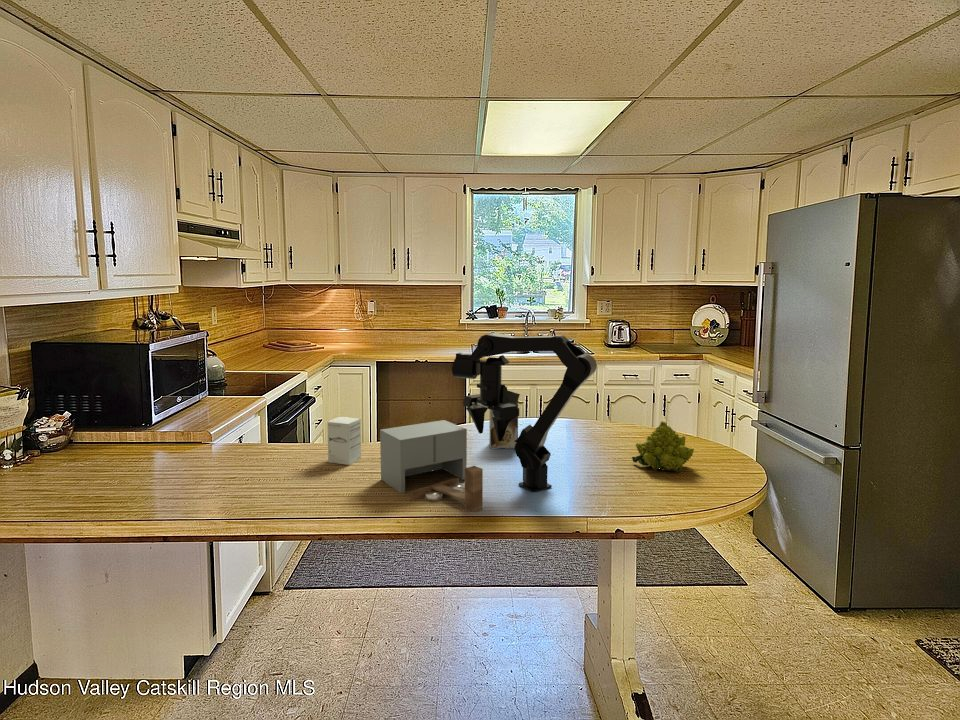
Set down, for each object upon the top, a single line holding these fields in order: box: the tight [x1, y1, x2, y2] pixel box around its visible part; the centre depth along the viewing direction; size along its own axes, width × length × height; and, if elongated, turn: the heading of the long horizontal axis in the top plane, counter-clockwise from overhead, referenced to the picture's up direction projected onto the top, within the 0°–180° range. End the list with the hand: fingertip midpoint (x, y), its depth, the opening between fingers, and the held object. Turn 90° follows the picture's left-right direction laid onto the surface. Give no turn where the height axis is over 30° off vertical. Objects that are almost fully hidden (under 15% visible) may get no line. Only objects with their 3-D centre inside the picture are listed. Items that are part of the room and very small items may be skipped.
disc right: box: [449, 482, 465, 493], centre depth 160 cm, size 4×4×2 cm
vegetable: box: [631, 421, 695, 473], centre depth 179 cm, size 15×16×15 cm
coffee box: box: [488, 401, 519, 449], centre depth 200 cm, size 9×6×16 cm
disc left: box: [424, 490, 443, 503], centre depth 155 cm, size 4×4×2 cm
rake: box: [410, 465, 484, 513], centre depth 153 cm, size 16×15×10 cm
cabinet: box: [379, 419, 468, 494], centre depth 168 cm, size 12×20×14 cm, turn 124°
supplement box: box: [327, 416, 362, 466], centre depth 183 cm, size 7×7×13 cm
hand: (490, 437), depth 167 cm, fingers open, 9 cm apart
